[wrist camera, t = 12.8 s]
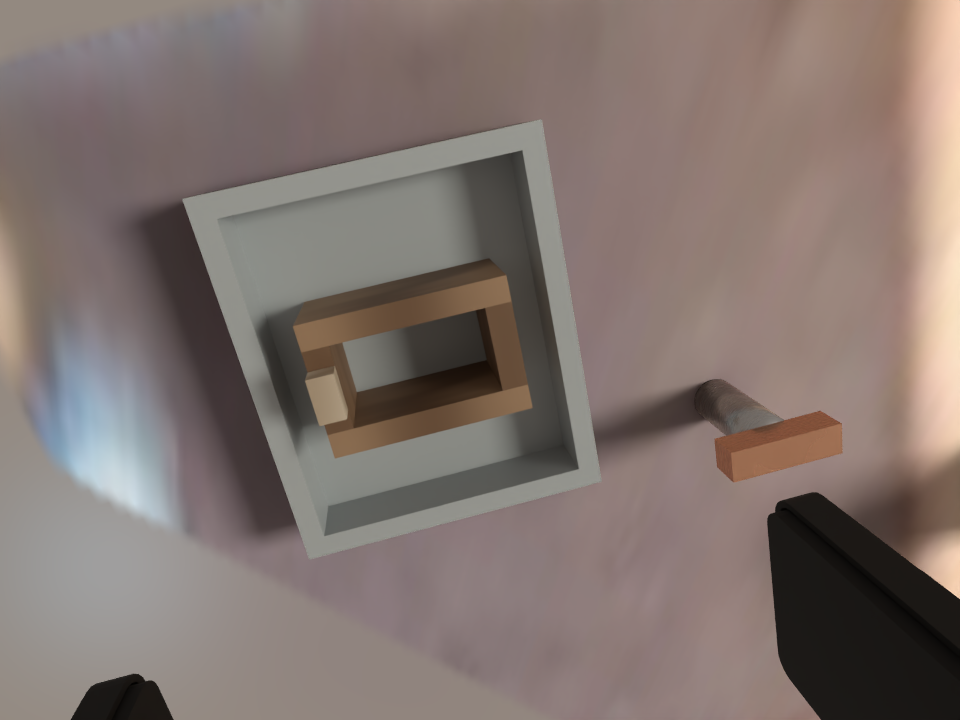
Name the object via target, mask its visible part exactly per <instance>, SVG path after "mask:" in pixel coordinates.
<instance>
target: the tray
mask: <svg viewBox="0 0 960 720" xmlns="http://www.w3.org/2000/svg"><path fill="white" fill-rule="evenodd" d="M182 200H183V203H184V206H185V208H186V211H187V214H188V217H189V220H190V223H191V225H192V228H193V231H194V234H195V237H196V240H197V242H198V245H199V248H200V251H201V254H202V257H203V259H204V262H205V265H206V268H207V271H208V274H209V276H210V279H211V282H212V285H213V288H214V291H215V293H216V296H217V299H218V302H219V305H220V308H221V310H222V313H223V316H224V319H225V322H226V325H227V327H228V330H229V333H230V336H231V339H232V342H233V345H234V347H235V350H236V353H237V356H238V359H239V362H240V364H241V367H242V370H243V373H244V376H245V379H246V381H247V384H248V387H249V390H250V393H251V396H252V398H253V401H254V404H255V407H256V410H257V413H258V415H259V418H260V421H261V424H262V427H263V430H264V432H265V435H266V438H267V441H268V444H269V447H270V449H271V452H272V455H273V458H274V461H275V464H276V466H277V469H278V472H279V475H280V478H281V481H282V483H283V486H284V489H285V492H286V495H287V498H288V500H289V503H290V506H291V509H292V512H293V515H294V517H295V520H296V523H297V526H298V529H299V532H300V534H301V537H302V540H303V543H304V546H305V549H306V551H307V554H308V557H309V559H313V558H317V557H321V556H324V555H328V554H332V553H336V552H339V551H343V550H347V549H351V548H354V547H358V546H362V545H366V544H369V543H373V542H377V541H381V540H384V539H388V538H392V537H396V536H399V535H403V534H407V533H411V532H414V531H418V530H422V529H426V528H430V527H433V526H437V525H441V524H445V523H448V522H452V521H456V520H460V519H463V518H467V517H471V516H475V515H478V514H482V513H486V512H490V511H493V510H497V509H501V508H505V507H508V506H512V505H516V504H520V503H523V502H527V501H531V500H535V499H538V498H542V497H546V496H550V495H553V494H557V493H561V492H565V491H568V490H572V489H576V488H580V487H583V486H587V485H591V484H595V483H598V482H602V481H601V475H600V469H599V462H598V456H597V450H596V444H595V438H594V432H593V426H592V420H591V414H590V408H589V402H588V396H587V390H586V384H585V378H584V372H583V366H582V360H581V354H580V348H579V342H578V336H577V329H576V323H575V317H574V311H573V305H572V299H571V293H570V287H569V281H568V275H567V269H566V263H565V257H564V251H563V245H562V239H561V233H560V227H559V221H558V215H557V209H556V203H555V197H554V190H553V184H552V178H551V172H550V166H549V160H548V154H547V148H546V142H545V136H544V130H543V124H542V119H541V120H536V121H531V122H525V123H520V124H516V125H511V126H507V127H502V128H498V129H493V130H489V131H484V132H480V133H475V134H471V135H466V136H462V137H457V138H453V139H448V140H444V141H439V142H435V143H430V144H426V145H421V146H417V147H412V148H408V149H403V150H399V151H394V152H390V153H385V154H381V155H376V156H371V157H367V158H362V159H358V160H353V161H349V162H344V163H340V164H335V165H331V166H326V167H322V168H317V169H313V170H308V171H304V172H299V173H295V174H290V175H286V176H281V177H277V178H272V179H268V180H263V181H259V182H254V183H250V184H245V185H241V186H236V187H232V188H227V189H223V190H218V191H213V192H209V193H205V194H201V195H197V196H193V197H189V198H185V199H182ZM488 258H489V259H490V260H491V261H492V262H494V263H495V264H496V265H497V266H498V267H499V268H500V269H501V270H502V271H503V272H504V273H505V274H506V276H507V281H508V286H509V291H510V296H511V301H512V306H513V311H514V316H515V321H516V326H517V331H518V336H519V341H520V346H521V351H522V356H523V362H524V367H525V372H526V377H527V382H528V387H529V392H530V397H531V402H532V407H533V408H531V409H527V410H523V411H519V412H515V413H511V414H507V415H504V416H500V417H496V418H492V419H488V420H484V421H480V422H476V423H472V424H468V425H464V426H461V427H457V428H453V429H449V430H445V431H441V432H437V433H433V434H429V435H425V436H421V437H418V438H414V439H410V440H406V441H402V442H398V443H394V444H390V445H386V446H382V447H378V448H375V449H371V450H367V451H363V452H359V453H355V454H351V455H347V456H343V457H339V458H335V457H334V454H333V451H332V448H331V445H330V442H329V439H328V435H327V432H326V429H325V426H324V425H322V426H319V423H318V420H317V417H316V414H315V411H314V408H313V404H312V401H311V398H310V395H309V392H308V389H307V386H306V383H305V379H306V376H307V369H306V366H305V363H304V360H303V357H302V354H301V351H300V347H299V344H298V341H297V338H296V335H295V332H294V329H293V325H294V323H295V321H296V318H297V316H298V314H299V312H300V310H301V308H302V306H303V304H304V302H306V301H310V300H315V299H319V298H323V297H327V296H332V295H336V294H340V293H344V292H348V291H353V290H357V289H361V288H365V287H370V286H374V285H378V284H382V283H386V282H391V281H395V280H399V279H403V278H408V277H412V276H416V275H420V274H424V273H429V272H433V271H437V270H441V269H446V268H450V267H454V266H458V265H462V264H467V263H471V262H475V261H479V260H484V259H488ZM343 347H344V350H345V353H346V357H347V360H348V364H349V367H350V370H351V374H352V377H353V381H354V384H355V387H356V391H357V392H360V391H364V390H368V389H372V388H376V387H380V386H384V385H388V384H392V383H396V382H400V381H404V380H408V379H412V378H416V377H420V376H424V375H428V374H432V373H436V372H440V371H444V370H448V369H452V368H456V367H460V366H465V365H469V364H473V363H477V362H481V361H485V360H487V359H486V354H485V350H484V345H483V340H482V336H481V331H480V327H479V322H478V318H477V313H476V310H474V311H470V312H466V313H462V314H458V315H454V316H450V317H446V318H441V319H437V320H433V321H429V322H425V323H421V324H417V325H413V326H408V327H404V328H400V329H396V330H392V331H388V332H384V333H380V334H376V335H371V336H367V337H363V338H359V339H355V340H351V341H347V342H343Z"/></svg>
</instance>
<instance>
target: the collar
mask: <svg viewBox="0 0 960 720" xmlns="http://www.w3.org/2000/svg"><path fill="white" fill-rule="evenodd" d="M474 310H476V313H477V318H478V322H479V327H480V331H481V336H482V340H483V345H484V350H485V354H486V359H487V360H485V361H481V362H477V363H473V364H469V365H465V366H460V367H456V368H452V369H448V370H444V371H440V372H436V373H432V374H428V375H424V376H420V377H416V378H412V379H408V380H404V381H400V382H396V383H392V384H388V385H384V386H380V387H376V388H372V389H368V390H364V391H360V392H357V391H356V387H355V384H354V381H353V377H352V374H351V370H350V367H349V364H348V360H347V357H346V353H345V350H344V347H343V342H347V341H351V340H355V339H359V338H363V337H367V336H371V335H376V334H380V333H384V332H388V331H392V330H396V329H400V328H404V327H408V326H413V325H417V324H421V323H425V322H429V321H433V320H437V319H441V318H446V317H450V316H454V315H458V314H462V313H466V312H470V311H474ZM293 329H294V332H295V335H296V338H297V341H298V344H299V347H300V351H301V354H302V357H303V360H304V363H305V366H306V369H307V376H306V379H305V383H306V386H307V389H308V392H309V395H310V398H311V401H312V404H313V408H314V411H315V414H316V417H317V420H318V423H319V426H322V425H324V426H325V429H326V432H327V435H328V439H329V442H330V445H331V448H332V451H333V454H334V457H335V458H339V457H343V456H347V455H351V454H355V453H359V452H363V451H367V450H371V449H375V448H378V447H382V446H386V445H390V444H394V443H398V442H402V441H406V440H410V439H414V438H418V437H421V436H425V435H429V434H433V433H437V432H441V431H445V430H449V429H453V428H457V427H461V426H464V425H468V424H472V423H476V422H480V421H484V420H488V419H492V418H496V417H500V416H504V415H507V414H511V413H515V412H519V411H523V410H527V409H531V408H533V407H532V402H531V397H530V392H529V387H528V382H527V377H526V372H525V367H524V362H523V356H522V351H521V346H520V341H519V336H518V331H517V326H516V321H515V316H514V311H513V306H512V301H511V296H510V291H509V286H508V281H507V276H506V274H505V273H504V272H503V271H502V270H501V269H500V268H499V267H498V266H497V265H496V264H495V263H494V262H492V261H491V260H490V259H489V258H488V259H484V260H479V261H475V262H471V263H467V264H462V265H458V266H454V267H450V268H446V269H441V270H437V271H433V272H429V273H424V274H420V275H416V276H412V277H408V278H403V279H399V280H395V281H391V282H386V283H382V284H378V285H374V286H370V287H365V288H361V289H357V290H353V291H348V292H344V293H340V294H336V295H332V296H327V297H323V298H319V299H315V300H310V301H306V302H304V304H303V306H302V308H301V310H300V312H299V314H298V316H297V318H296V321H295V323H294V325H293Z"/></svg>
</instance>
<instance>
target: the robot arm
mask: <svg viewBox="0 0 960 720" xmlns="http://www.w3.org/2000/svg"><path fill="white" fill-rule="evenodd" d="M767 525H768V537H769V549H770V561H771V573H772V585H773V597H774V609H775V621H776V633H777V645H778V654H779V658H780V661H781V664H782V666H783V669H784V671H785V672H786V674H787V676H788V677H789V679H790V680H791V682H792V683H793V684H794V685H795V687H796V688H797V689H798V691H799V692H800V693H801V694H802V696H803V697H804V698H805V700H806V701H807V702H808V703H809V705H810V706H811V707H812V708H813V710H814V711H815V712H816V714H817V715H818V716H819V717H820V719H821V720H960V599H959V598H957V597H956V596H955V595H953V594H952V593H951V592H950V591H948V590H947V589H946V588H944V587H943V586H942V585H940V584H939V583H938V582H936V581H935V580H934V579H932V578H931V577H930V576H929V575H927V574H926V573H925V572H923V571H921V570H920V569H918V568H917V567H916V566H914V565H913V564H912V563H910V562H909V561H908V560H906V559H905V558H904V557H903V556H901V555H900V554H899V553H897V552H896V551H895V550H893V549H892V548H891V547H889V546H888V545H887V544H885V543H884V542H883V541H882V540H880V539H879V538H878V537H876V536H875V535H874V534H872V533H871V532H870V531H868V530H867V529H866V528H865V527H863V526H862V525H861V524H859V523H858V522H857V521H855V520H854V519H853V518H851V517H850V516H849V515H848V514H846V513H845V512H844V511H842V510H841V509H840V508H838V507H837V506H836V505H834V504H833V503H832V502H831V501H829V500H828V499H827V498H825V497H824V496H823V495H821V494H819V493H816V492H812V493H808V494H804V495H801V496H797V497H793V498H789V499H786V500H782V501H780V502H778V503H777V505H776V508H775V513H772V514H770V515H769V516H768V519H767ZM71 720H173V718H172V716H171V714H170V711H169V709H168V707H167V705H166V703H165V700H164V698H163V696H162V694H161V692H160V690H159V687H158V686H157V684H156V683H155V682H154V681H145V680H144V678H143V677H142V676H140V675H139V674H131V675H127V676H123V677H119V678H116V679H112V680H108V681H105V682H101V683H97V684H95V685H93V686H91V687H90V689H89V690H88V691H87V692H86V694H85V696H84V698H83V699H82V701H81V703H80V705H79V706H78V708H77V710H76V712H75V713H74V715H73V717H72V719H71Z"/></svg>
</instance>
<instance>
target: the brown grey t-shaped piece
mask: <svg viewBox="0 0 960 720" xmlns="http://www.w3.org/2000/svg"><path fill="white" fill-rule="evenodd" d="M695 407H696V410H697V411H698V413H699V414H700V415H702V416H703V417H704V418H705V419H706V420H708V421H709V422H710V423H711V424H713V425H714V426H715V427H716V428H717V429H719V430H720V431H721V432H722V433H724V434H725V435H726V436H724V437H720V438H716V439H715V449H716V460H717V467H718V468H719V469H720V470H721V471H722V472H723V473H724V474H725V475H726V476H727V477H728V478H729V479H730V480H731V481H733V482H737V481H741V480H745V479H748V478H752V477H756V476H760V475H763V474H767V473H771V472H774V471H778V470H782V469H785V468H789V467H793V466H797V465H800V464H804V463H808V462H811V461H815V460H819V459H822V458H826V457H830V456H833V455H837V454H841V453H842V423H840V422H838V421H836V420H835V419H833V418H831V417H830V416H828V415H826V414H825V413H823V412H821V411H818V412H814V413H811V414H807V415H803V416H799V417H795V418H792V419H788V420H783V419H782V418H780V417H779V416H777V415H776V414H774V413H773V412H771V411H770V410H768V409H767V408H765V407H764V406H762V405H761V404H759V403H758V402H756V401H755V400H753V399H752V398H750V397H749V396H747V395H746V394H744V393H743V392H741V391H740V390H738V389H737V388H735V387H734V386H732V385H731V384H729V383H728V382H726V381H724V380H720V379H715V380H711V381H708V382H706V383H705V384H704V385H702V386H701V387H700V389H699V390H698V391H697V393H696V396H695Z"/></svg>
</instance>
